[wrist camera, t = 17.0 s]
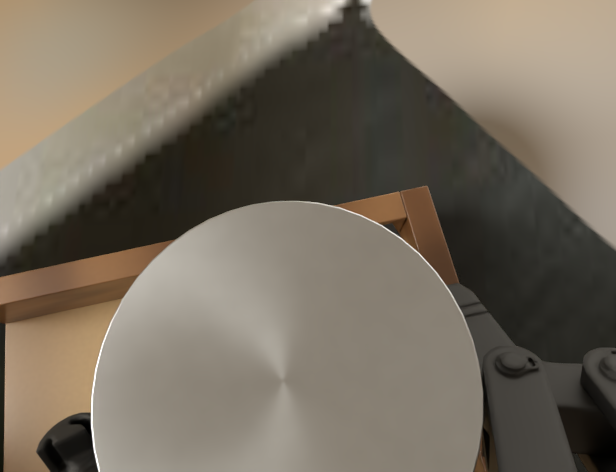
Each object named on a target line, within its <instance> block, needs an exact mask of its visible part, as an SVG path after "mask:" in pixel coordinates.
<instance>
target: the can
mask: <svg viewBox="0 0 616 472" xmlns="http://www.w3.org/2000/svg"><path fill="white" fill-rule="evenodd" d="M482 429H483V387H482V379H481V371H480V365H479V361H478V357H477V353H476V349H475V345H474V341H473V338H472V336H471V333H470V330H469V328H468V325H467V323H466V320H465V318H464V315H463V313H462V311H461V310H460V308H459V306H458V304H457V302H456V300H455V299H454V297H453V295H452V293H451V291H450V290H449V289H448V287H447V286H446V284H445V283H444V282H443V280H442V279H441V277H440V276H439V275H438V273H437V272H436V271H435V270H434V269H433V267H432V266H431V265H430V264H429V263H428V262H427V261H426V260H425V259H424V258H423V257H422V256H421V254H420V253H418V252H417V251H416V250H415V249H414V248H413V247H411V246H410V245H409V244H408V243H407V242H406V241H404V240H403V239H402V238H401V237H399V236H398V235H396V234H395V233H393V232H391V231H390V230H388V229H387V228H385V227H384V226H382V225H380V224H378V223H376V222H374V221H372V220H370V219H368V218H366V217H364V216H362V215H360V214H357V213H354V212H351V211H348V210H345V209H343V208H340V207H335V206H330V205H326V204H321V203H315V202H304V201H273V202H266V203H259V204H253V205H249V206H245V207H241V208H238V209H234V210H230V211H228V212H225V213H223V214H220V215H218V216H216V217H213V218H211V219H208V220H207V221H205V222H203V223H201V224H199V225H198V226H196V227H194V228H192V229H190V230H189V231H187V232H186V233H184V234H183V235H182V236H180V237H179V238H177V239H176V240H175V241H173V242H172V243H171V244H169V245H168V246H167V247H166V248H165V249H164V250H163V251H162V252H160V253H159V254H158V255H157V256H156V257H155V258H154V259H153V260H152V261H151V262H150V263H149V264H148V265H147V267H146V268H145V269H144V270H143V271H142V272H141V273H140V275H139V276H138V277H137V278H136V280H135V281H134V282H133V284H132V285H131V287H130V288H129V290H128V291H127V293H126V294H125V296H124V297H123V298H122V300H121V302H120V304H119V306H118V308H117V310H116V312H115V314H114V315H113V317H112V319H111V321H110V324H109V326H108V329H107V331H106V334H105V337H104V339H103V342H102V344H101V348H100V352H99V356H98V359H97V363H96V367H95V372H94V379H93V386H92V393H91V433H92V443H93V452H94V456H95V460H96V465H97V469H98V472H474V471H475V467H476V463H477V459H478V455H479V451H480V445H481V437H482Z"/></svg>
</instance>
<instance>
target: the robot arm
mask: <svg viewBox="0 0 616 472" xmlns="http://www.w3.org/2000/svg"><path fill="white" fill-rule="evenodd" d="M382 226H384V227H385V228H387V229H388V230H390V231H391V232H393V233H395V234H396V235H398V236H399V237H401V236H400V234H399V233H398V231H397V230H396V228H395V227H394V225H393V224H392V223H390V224H386V225H382ZM401 238H402V237H401ZM446 286H447V287H448V289H449V290H450V291H451V293H452V295H453V297H454V299H455V300H456V302H457V304H458V306H459V308H460V310H461V311H462V313H463V315H464V318H465V320H466V323H467V325H468V328H469V330H470V333H471V336H472V338H473V341H474V345H475V349H476V353H477V357H478V361H479V365H480V371H481V379H482V387H483V429H482V457H485V462H486V470H487V472H577V468H576V465H575V462H574V459H573V456H572V453H576V454H578V456H579V458H580V459H581V461H582V463H583V464H584V466H585V467H586V469H587V471H588V472H616V348H597V349H594V350H590V351H589V352H588V353H587V354H586V355H585V356H584V358H583V364H573V363H553V362H545V361H541V360H540V358H539V357H537V356H536V355H535V354H534V353H532V352H531V351H529V350H526V349H524V348H521V347H517V346H515V345H514V343H513V342H512V341H511V340H510V338H509V337H508V336H507V334H506V333H505V332H504V331H503V329H502V328H501V327H500V326H499V324H498V323H497V322H496V321H495V319H494V318H493V317H492V316H491V314H490V313H488V311H487V309H486V308H485V307H484V306H483V304H481V303H480V301H479V299H478V298H477V297H476V296H475V294H474V293H473V292H472V291H471V290H469V289H468V288H466V287H464V286H462V285H461V284H459V283H454V284H450V285H446ZM36 453H37V454H38V456H39V457H40V458H41V460H42V461H43V462H44V464H45V465H46V466H47V468H48V469H49V470H50V472H98V469H97V465H96V460H95V456H94V452H93V443H92V433H91V413H90V412H85V413H77V414H74V415H71V416H68V417H67V418H65V419H63V420H62V421H60V422H58V423H57V424H56V425H54V426H53V427H52V428H51V429H50V430H49V431H48V432H47V433H46V434H45V435H44V437H43V438H42V439H41V441H40V442H39V445H38V447H37V450H36Z"/></svg>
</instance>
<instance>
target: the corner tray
mask: <svg viewBox="0 0 616 472" xmlns="http://www.w3.org/2000/svg"><path fill="white" fill-rule="evenodd" d="M334 206H335V207H340V208H343V209H345V210H348V211H351V212H354V213H357V214H360V215H362V216H364V217H366V218H368V219H370V220H372V221H374V222H376V223H378V224H380V225H386V224H390V223H392V224H393V225H394V227H395V228H396V230H397V231H398V233H399V234H400V236H401V237H402V239H403V240H404V241H406V242H407V243H408V244H409V245H410V246H411V247H413V248H414V249H415V250H416V251H417V252H418V253H420V254H421V256H422V257H423V258H424V259H425V260H426V261H427V262H428V263H429V264H430V265H431V266H432V267H433V269H434V270H435V271H436V272H437V273H438V275H439V276H440V277H441V279H442V280H443V282H444V283H445V284H446V285H450V284H454V283H459V280H458V277H457V274H456V271H455V268H454V265H453V262H452V259H451V256H450V253H449V250H448V247H447V244H446V241H445V237H444V234H443V231H442V228H441V225H440V222H439V219H438V216H437V213H436V210H435V207H434V204H433V201H432V198H431V195H430V192H429V188H428V186H423V187H418V188H414V189H409V190H404V191H401V192H395V193H390V194H386V195H381V196H376V197H372V198H367V199H362V200H358V201H353V202H348V203H344V204H339V205H334ZM173 241H175V240H171V241H167V242H162V243H158V244H153V245H148V246H144V247H139V248H134V249H130V250H125V251H120V252H116V253H111V254H106V255H102V256H97V257H92V258H88V259H83V260H78V261H74V262H69V263H64V264H60V265H55V266H50V267H46V268H41V269H36V270H32V271H27V272H22V273H18V274H13V275H8V276H4V277H0V323H5V324H6V339H5V411H4V472H50V470H49V469H48V468H47V466H46V465H45V464H44V462H43V461H42V460H41V458H40V457H39V456H38V454H37V453H36V450H37V447H38V445H39V442H40V441H41V439H42V438H43V437H44V435H45V434H46V433H47V432H48V431H49V430H50V429H51V428H52V427H53V426H54V425H56V424H57V423H58V422H60V421H62V420H63V419H65V418H67V417H68V416H71V415H74V414H77V413H85V412H90V413H91V393H92V386H93V379H94V372H95V367H96V363H97V359H98V356H99V352H100V348H101V344H102V342H103V339H104V337H105V334H106V331H107V329H108V326H109V324H110V321H111V319H112V317H113V315H114V314H115V312H116V310H117V308H118V306H119V304H120V302H121V300H122V298H123V297H124V296H125V294H126V293H127V291H128V290H129V288H130V287H131V285H132V284H133V282H134V281H135V280H136V278H137V277H138V276H139V275H140V273H141V272H142V271H143V270H144V269H145V268H146V267H147V265H148V264H149V263H150V262H151V261H152V260H153V259H154V258H155V257H156V256H157V255H158V254H159V253H160V252H162V251H163V250H164V249H165V248H166V247H167V246H168V245H169V244H171V243H172V242H173ZM459 284H460V283H459ZM474 472H487V470H486V462H485V457H482V437H481V445H480V451H479V455H478V459H477V463H476V467H475V471H474Z"/></svg>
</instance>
